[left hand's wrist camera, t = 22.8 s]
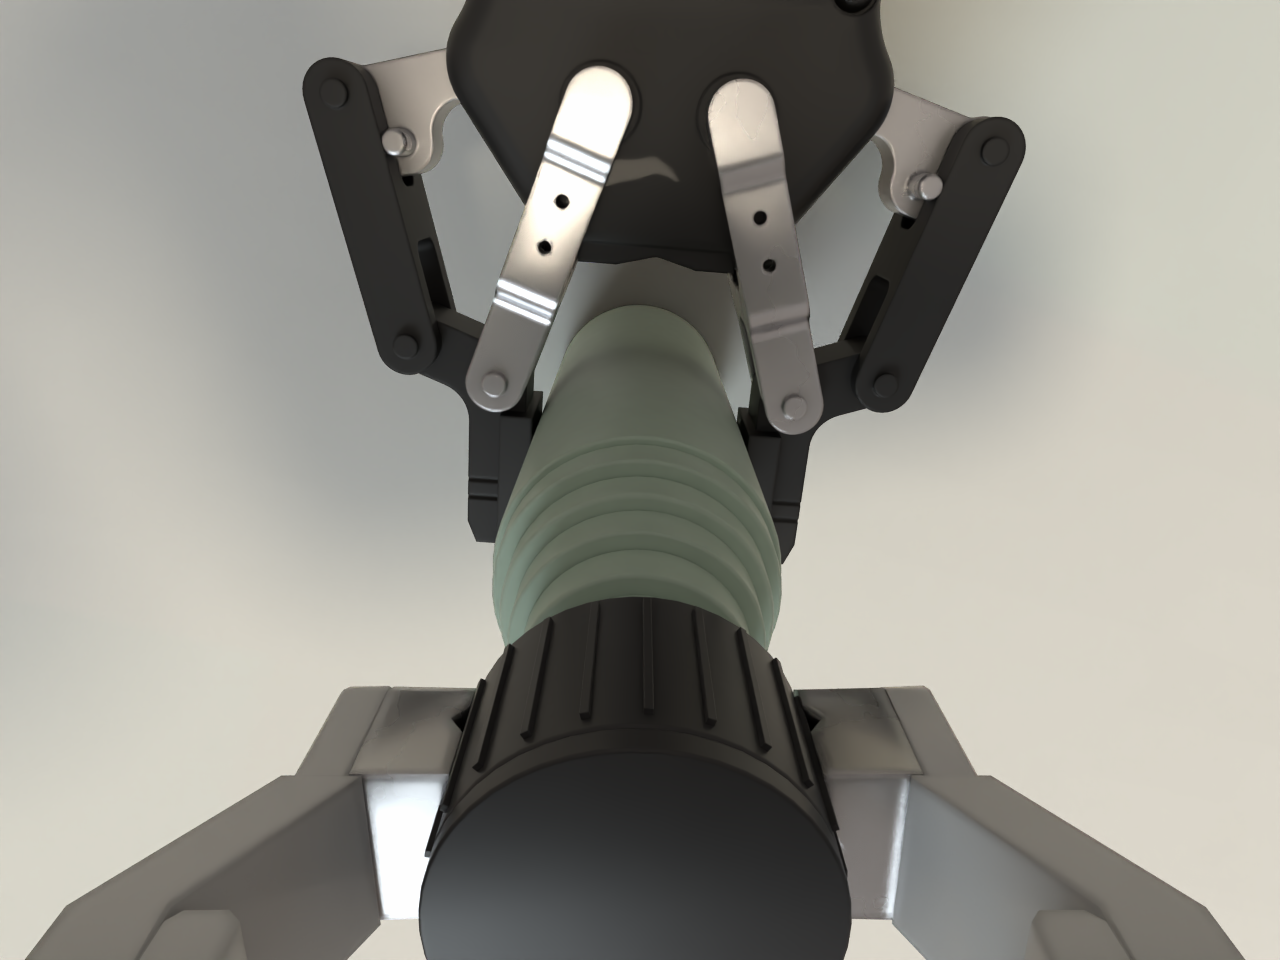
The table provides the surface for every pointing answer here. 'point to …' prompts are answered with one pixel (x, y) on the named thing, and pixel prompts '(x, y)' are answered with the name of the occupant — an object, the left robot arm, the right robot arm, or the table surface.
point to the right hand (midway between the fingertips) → (630, 560)
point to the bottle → (637, 486)
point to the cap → (635, 801)
